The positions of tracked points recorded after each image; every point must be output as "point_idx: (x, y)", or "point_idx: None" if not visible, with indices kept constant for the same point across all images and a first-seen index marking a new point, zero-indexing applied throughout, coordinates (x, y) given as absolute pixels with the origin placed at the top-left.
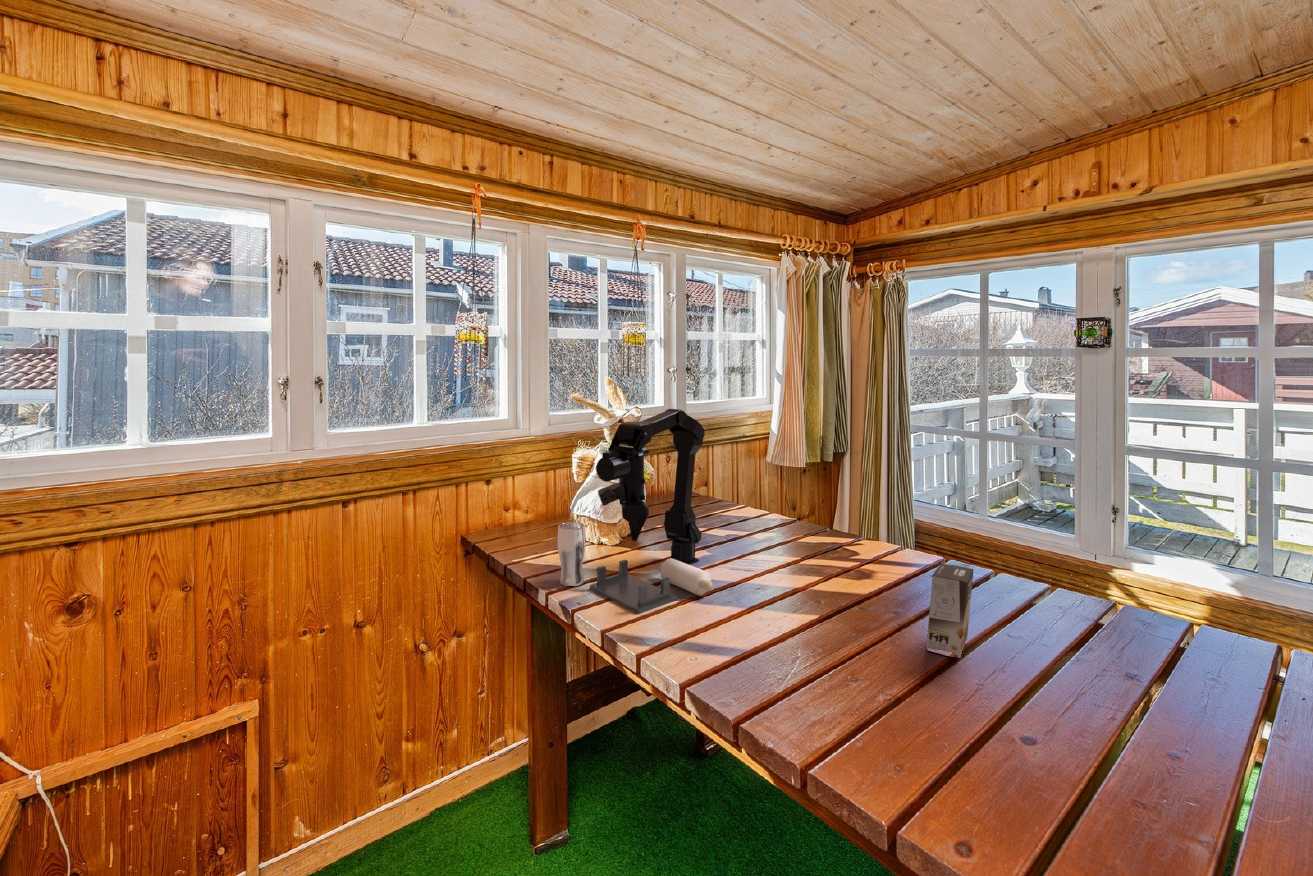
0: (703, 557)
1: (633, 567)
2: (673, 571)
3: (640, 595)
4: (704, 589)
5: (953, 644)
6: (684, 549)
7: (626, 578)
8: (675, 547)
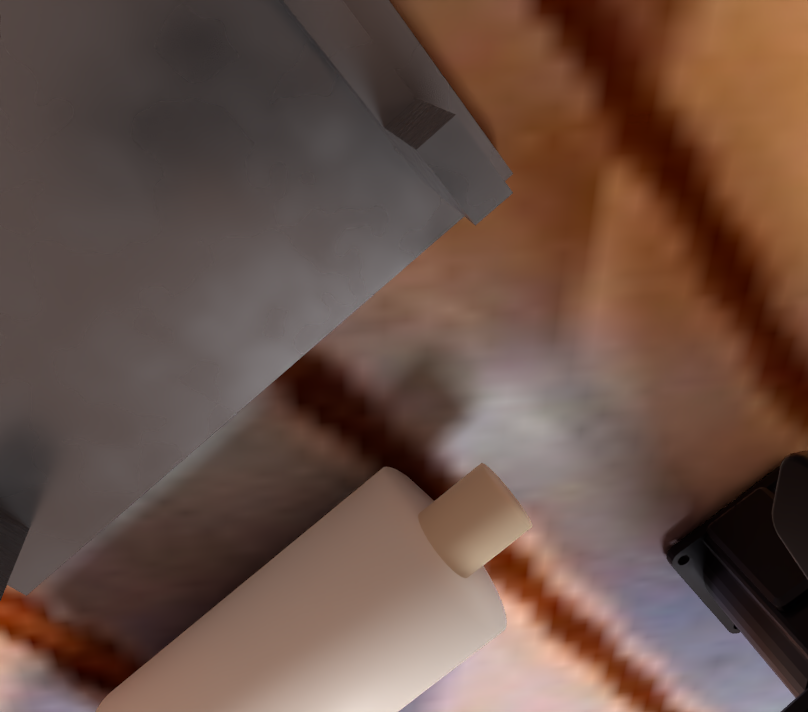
0: None
1: (719, 210)
2: (278, 629)
3: None
4: None
5: None
6: (768, 636)
7: (390, 171)
8: (802, 591)
